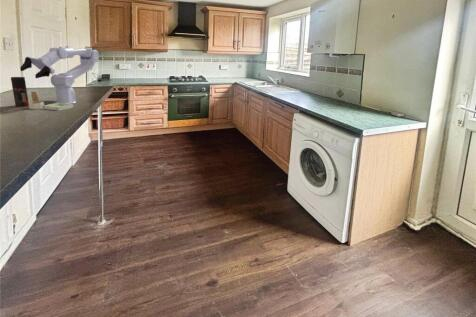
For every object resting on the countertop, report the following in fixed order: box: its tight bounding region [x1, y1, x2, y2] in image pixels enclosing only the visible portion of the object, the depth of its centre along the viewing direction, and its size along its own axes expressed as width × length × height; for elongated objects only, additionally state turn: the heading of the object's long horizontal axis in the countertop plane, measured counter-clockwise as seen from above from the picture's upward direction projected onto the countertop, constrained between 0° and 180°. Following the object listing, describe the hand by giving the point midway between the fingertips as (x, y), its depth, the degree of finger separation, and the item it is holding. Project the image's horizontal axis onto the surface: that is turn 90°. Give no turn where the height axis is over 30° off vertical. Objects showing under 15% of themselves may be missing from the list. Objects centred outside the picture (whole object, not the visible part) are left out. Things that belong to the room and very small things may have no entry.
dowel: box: [31, 91, 41, 104], centre depth 165 cm, size 3×3×8 cm
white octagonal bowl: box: [28, 101, 45, 110], centre depth 166 cm, size 7×7×3 cm
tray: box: [42, 103, 75, 111], centre depth 169 cm, size 11×9×2 cm
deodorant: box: [10, 76, 30, 108], centre depth 168 cm, size 6×6×15 cm
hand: (28, 72), depth 160 cm, fingers open, 7 cm apart
